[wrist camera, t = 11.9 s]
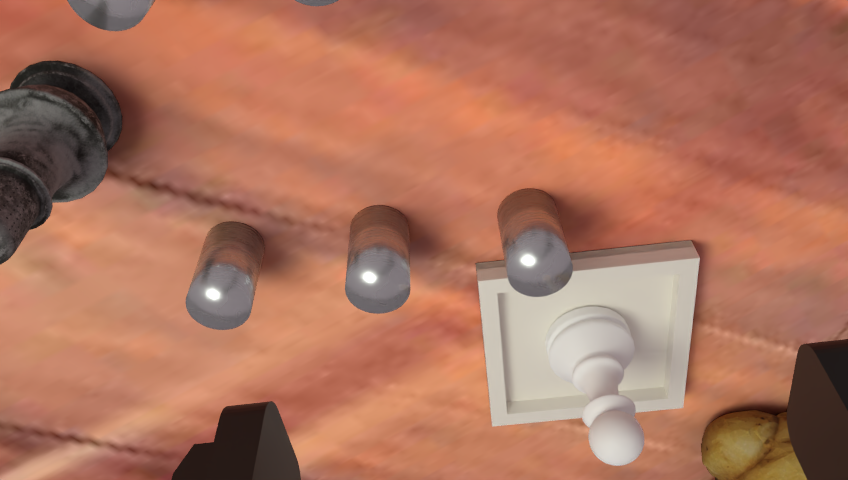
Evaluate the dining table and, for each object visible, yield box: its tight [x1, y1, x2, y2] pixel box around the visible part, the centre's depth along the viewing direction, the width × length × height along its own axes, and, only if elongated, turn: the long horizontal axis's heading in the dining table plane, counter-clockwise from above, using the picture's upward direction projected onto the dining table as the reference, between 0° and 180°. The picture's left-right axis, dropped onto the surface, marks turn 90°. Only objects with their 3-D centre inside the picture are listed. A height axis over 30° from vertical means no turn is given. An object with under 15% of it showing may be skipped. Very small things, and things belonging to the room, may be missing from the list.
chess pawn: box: [545, 306, 644, 466], centre depth 44 cm, size 5×5×9 cm
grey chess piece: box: [0, 61, 122, 264], centre depth 34 cm, size 6×6×12 cm
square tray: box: [476, 240, 700, 426], centre depth 48 cm, size 12×12×2 cm
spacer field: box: [67, 0, 573, 330], centre depth 37 cm, size 19×19×5 cm
